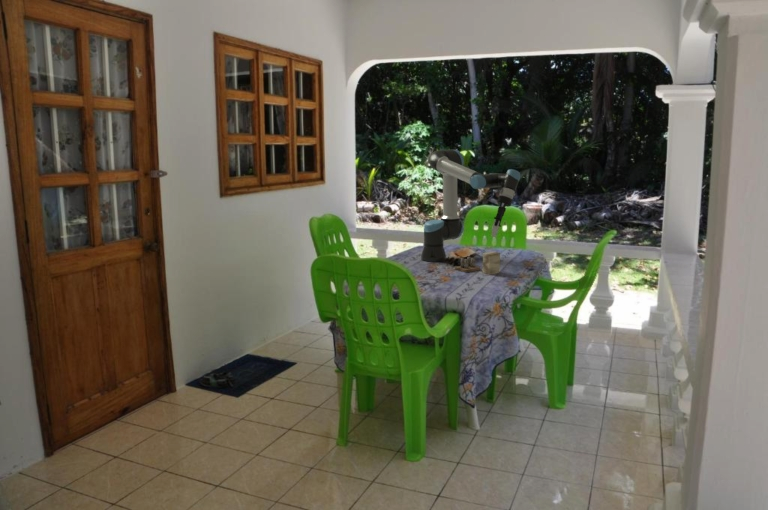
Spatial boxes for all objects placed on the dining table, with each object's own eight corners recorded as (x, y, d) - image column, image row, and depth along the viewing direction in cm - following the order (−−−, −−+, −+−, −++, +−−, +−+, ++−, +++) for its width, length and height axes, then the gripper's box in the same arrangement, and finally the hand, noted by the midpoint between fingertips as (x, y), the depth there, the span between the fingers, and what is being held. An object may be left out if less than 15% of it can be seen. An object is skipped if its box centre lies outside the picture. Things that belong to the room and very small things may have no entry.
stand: (454, 269, 348) (454, 258, 347) (468, 266, 355) (469, 255, 353) (466, 272, 341) (466, 261, 340) (480, 269, 348) (480, 258, 346)
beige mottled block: (482, 273, 340) (482, 253, 338) (492, 270, 345) (493, 251, 343) (489, 274, 337) (489, 254, 334) (499, 272, 341) (500, 252, 339)
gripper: (513, 193, 324) (500, 231, 322) (511, 205, 349) (499, 240, 347) (499, 189, 326) (486, 227, 324) (498, 201, 350) (486, 236, 348)
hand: (493, 234), depth 335 cm, fingers open, 13 cm apart
